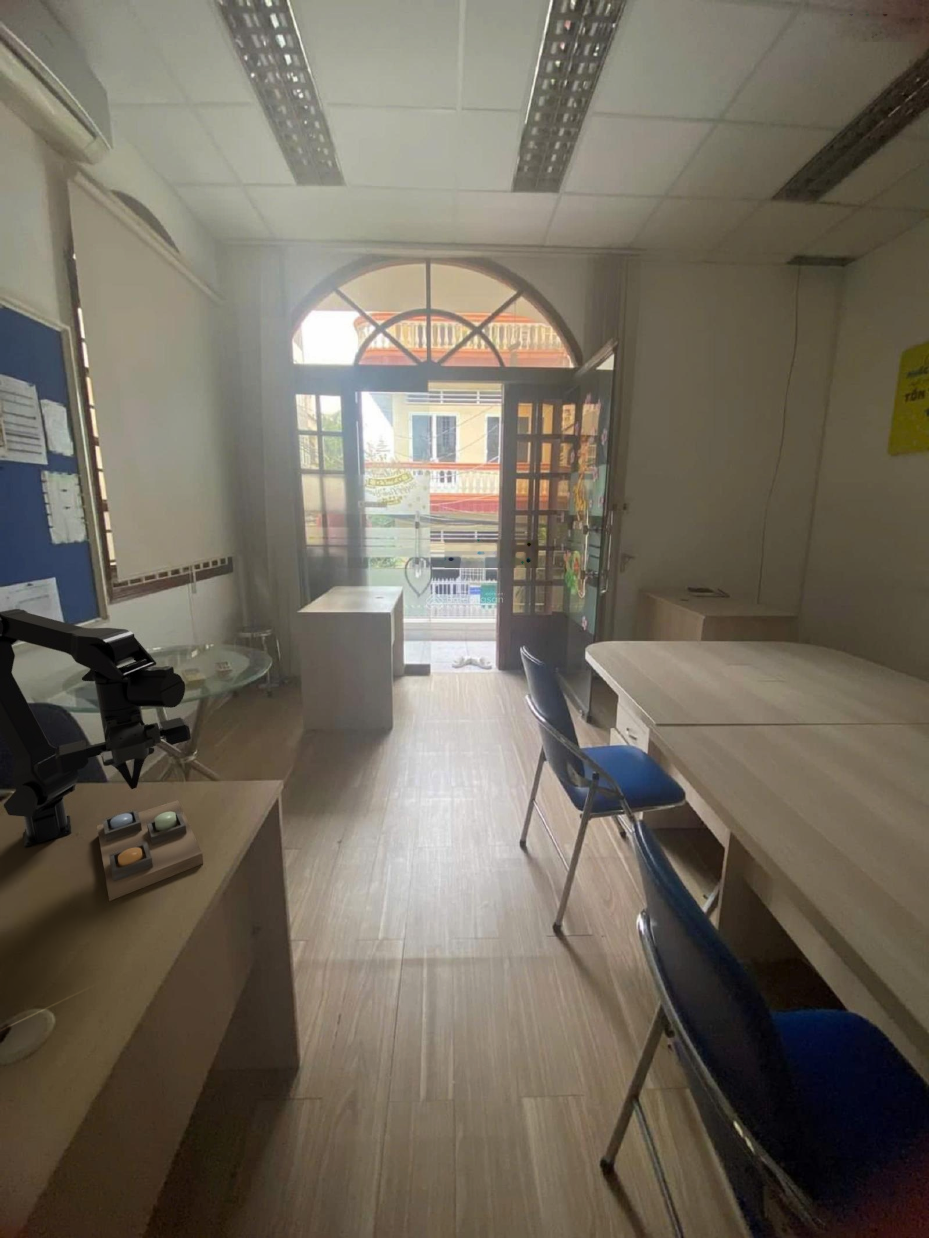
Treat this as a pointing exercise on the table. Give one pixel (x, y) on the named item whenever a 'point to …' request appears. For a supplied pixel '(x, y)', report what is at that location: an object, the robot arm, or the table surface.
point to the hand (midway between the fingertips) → (133, 787)
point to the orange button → (130, 856)
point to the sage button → (165, 821)
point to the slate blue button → (121, 820)
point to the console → (147, 850)
